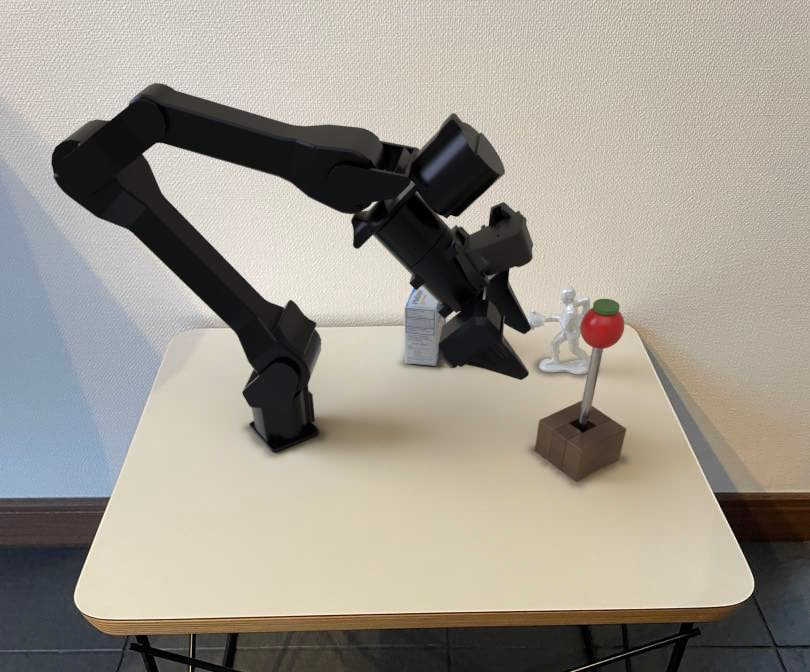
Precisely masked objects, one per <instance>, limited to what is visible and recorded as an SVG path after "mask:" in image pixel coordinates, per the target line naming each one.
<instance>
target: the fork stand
mask: <svg viewBox="0 0 810 672" xmlns="http://www.w3.org/2000/svg"><path fill="white" fill-rule="evenodd" d="M581 405H582V400H580V401H577V402H575V403H573V404H571V405H568V406H567V407H565V408H562V409H560V410H558V411H556V412H554V413H551V414H549V415H547V416H545V417H542V418H540V419H539V420H538V425H537V432H536V440H535V445H534V452H536V453H537V454H538V455H540V456H541V457H542V458H544V459H545V460H546V461H548V462H549V463H550V464H552V466H554V467H555V468H557V469H558V470H560V471H561V472H562V473H563V474H565V475H566V476H567V477H568V478H570V479H571V480H573V481H574V482H576V483H577V482H578V481H580V480H582V479H584V478H586V477H588V476H590V475H592V474H595V472H598V471H600V470H602V469H604V468H606V467H607V466H609V465H611V464H613V463H615V462H618V461H619V460H620V457H621V453H622V449H623V445H624V443H625V442H624V441H625V437H626V434H627V428H626V427H624V426H623V425H621V424H620V423H619V422H617V421H616V420H614V418H613V419H612V418H611V417H610V416H608V415H607V414H605V413H603V412H602V411H601V410H599V409H598V408H596V407H595V406H593V405H592V406H591V411H590V416H589V421H588V426H587V430H586V431H585V432H583V433H582V432H581V431H579V430H578V429H577V426H578V420H579V415H580V410H581Z"/></svg>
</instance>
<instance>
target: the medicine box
mask: <svg viewBox="0 0 810 672" xmlns="http://www.w3.org/2000/svg"><path fill="white" fill-rule="evenodd" d="M439 305H440V303H439V302H438V301H437V300H436V299H435V298H434V297H433V296H432V295H431V294H430V293H429V292H428V291H427V290H426V289H425V288H424V287H423V286H421V287H420V288H419V289H417V290H415V289H414V288H413V287H412V290H411V292H410V294H409V296H408V299H407V301H406V303H405V306H404V307H403V308H404V311H403V315H404V316H403V317H404V318H403V323H404V325H403V326H404V360H405V361H404V362H405V363H406V364H410V365H419V366H429V367H430V366H431V367H436V366H437V365H438V362H439V359H440V357H439V356H438V344H439V339H440V335H441V330H442V326H443V325H444V324H446V323H447V317H446V318H445V319H444V318H443V317H442V316H441V315H440V314H439V313H438V309H439Z"/></svg>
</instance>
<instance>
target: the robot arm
mask: <svg viewBox="0 0 810 672" xmlns="http://www.w3.org/2000/svg"><path fill="white" fill-rule="evenodd" d="M156 144H163V145H166V146H171V147H174V148H178V149H181V150H184V151H188V152H192V153H194V154H195V153H196V154H199V155H201V156H205V157H209V158H212V159H216V160H219V161H222V162H226V163H230V164H231V165H237V166H239V167H243V168H246V169H250V170H254V171H256V172H259V173H260V172H261V173H264V174H268V175H270V176H275V177H277V178H280V179H282V180H283V181H287V182H288V183H290V184H292V185H293V186H294V187H295V188H296V189H298V190H299V191H300V192H301V193H303V194H304V195H305V196H306V197H307V198H309V199H311V200H313V201H316V202H317V203H320V204H322V205H324V206H326V207H328V208H330V209H332V210H334V211H337V212H338V213H341V214H345V215H352V217H351V219H350V223H351V225H352V232H353V233H352V234H353V238H352V246H353V248H354V249H355V250H359V249H360V248H361V247H363V246H364V244H366V243H367V242H368V241H369V240H370V238H372V236H373V237H374V239H376V240H377V242H379V244H381V246H383V248H384V249H386V251H387V252H388V253H390V255H391V256H392V257H393V258H394V259H395V260H396V261H397V262H398V263H399V264H400V265H401V266H402V267H403V268H404V269H405V270H406V271H407V272H408V273H409V274H410V275H411V276H410V279H409V283H408V284H409V285H410V286H411V287H412V289H413V288H414V289H415V290H417V289H419V288H420V287H421V286H423V287H424V288H425V289H426V290H427V291H428V292H429V293H430V294H431V295H432V296H433V297H434V298H435V299H436V300H437V301H438V302H439V303H440V305H439V309H438V313H439V314H440V315H441V316H442V317H443V318H444V319H445V318H446V319H447V318H448V317H449V316H450V315H452V314H453V313H455V315H454V316H453V317H451V318H450V319H449V320H448V321H446V324H444V325H443V326H442V330H441V335H440V339H439V344H438V356H439V359H441V360H442V361H443V362H444V363H445V365H447V366H448V367H449V368H450V369H456V368H457V367H459V368H462V367H465V366H470V367H474V368H479V369H483V370H487V371H490V372H493V373H497V374H499V375H503V376H507V377H509V378H513V379H516V380H519V381H522V380H524V379H526V378H527V377H528V376H530V372H529V370H528V368H527V367H526V365H525V363H524V362H523V361H522V359H521V358H520V356H519V355H518V354H517V352H516V351H515V350H514V348H513V346H512V345H511V344H510V343H509V341H508V340H507V338H506V337H505V335H504V328H505V325H506V326H507V327H509V328H510V329H513V330H515V331H516V332H518V333H520V334H522V335H526V334H527V333H529V332H530V331H532V330H531V325H530V323H529V321H528V319H529V318H528V317H527V315H526V313H525V312H524V310H523V308H522V306H521V304H520V302H519V300H518V297H517V295H516V294H515V292H514V289H513V287H512V285H511V283H510V269H513V268H522V267H523V266H525V265H527V264H529V263H530V262H532V260H533V258H534V257H533V256H534V255H533V248H534V242H533V239H532V236H531V234H530V231H529V228H528V226H527V222H528V220H527V218H526V216H524V214H522V213H521V210H516V211H515V210H514V209H513V208H511V207H510V206H509V205H508V204H507V203H506V202H504V201H503V202H500V203H498V204H495V205H492V206H491V207H490V211H489V217H488V225H486V224H483V225H481V226H480V229H479V230H477V231H474V232H472V233H469V232H468V231H467V230H466V229H465V228H464V227H463V226H458V225H457V224H455V225H454V226H453V227H452V228H451V227H450V226H449V225H448V224H447V223H446V222H445V221H444V220H443V219H442V217H443V218H445V219H448V218H449V217H450V216H451V217H455V218H458V217H460V216H461V215H462V214H463V213H464V212H465V211H466V210H467V209H468V208H470V207H471V206H472V205H473V204H474V203H475V202H476V201H477V200H478V199H479V198H480V197H482V195H483V194H485V193H486V192H487V191H488V190H489V189H490V188H491V187H492V186H493V185H494V184H495V183H497V182H498V181H499V180H500V179H501V178H502V177H503V176H504V175H505V174H506V170H505V166H504V163H503V161H502V159H501V156H499V153H498V152H497V150H496V149H495V147H494V146H493V144H492V143H491V142H490V141H489V139H488V138H487V137H486V136H485V134H484V133H483V132H478V130H477V129H476V128H474V126H472V125H471V124H469V123H468V122H464V121H463V120H462V119H461V118H460V117H459V116H458V114H456V113H454V112H451V114H449V116H448V117H446V119H445V120H444V121H443V122H442V123H441V125H440V126H439V129H438V130H437V131H436V133H435V134H433V136H432V137H431V138H430V139H429V140H428V141H427V142H426V143H424V145H423V146H422V147H421V148H419V147H416V146H410V145H406V144H400V143H395V142H389V141H384V140H381V139H380V137H379V136H377V134H375V133H374V132H373V131H371V130H369V129H367V128H363V127H358V126H349V125H340V124H339V125H338V124H330V123H329V124H314V125H298V124H297V125H296V124H290V123H287V122H283V121H281V120H277V119H273V118H270V117H267V116H263V115H260V114H256V113H253V112H250V111H246V110H243V109H239V108H236V107H233V106H230V105H226V104H223V103H220V102H216V101H213V100H209V99H205V98H202V97H199V96H195V95H193V94H189V93H186V92H183V91H179V90H176V89H174V88H173V87H172V86H169V85H168V84H166V83H159V82H154V83H151V84H148V85H147V86H146V87H144V88H143V89H142V90H141V91H140V92H138V93H137V94H135V96H134V97H132V98H131V99H130V101H129V103H128V105H127V106H126V107H125V108H124V109H122V110H121V111H120V112H119V113H117V114H116V115H115V116H114V117H113V118H111V119H109V120H105V119H97V118H96V119H92V120H89V121H87V122H86V123H85V124H83V125H82V126H80V127H79V128H78V129H76V130H75V131H74V132H72V133H71V134H70V135H68V137H66V138H65V139H63V140H62V141H61V142H60V143H58V144H57V145H55V146H54V149H53V151H52V154H51V162H50V163H51V169H52V172H53V175H52V176H53V179H54V181H55V183H56V185H57V186H58V187H59V188H60V190H61V191H62V192H63V193H64V194H65V195H66V196H67V197H68V198H70V199H71V200H73V201H74V202H75V203H77V204H78V205H79V206H80V207H81V208H84V209H85V210H86V211H87V212H88V213H90V214H91V215H93V216H94V217H96V218H97V219H100V220H102V221H105V222H108V223H110V224H112V225H115V226H118V227H121V228H123V229H126V230H128V231H129V232H130V233H131V234H132V235H134V236H135V238H137V239H138V240H139V241H140V242H141V243H142V244H143V245H144V246H145V247H146V248H147V249H148V250H149V251H150V252H151V253H152V254H153V255H155V257H156V258H158V259H159V260H160V261H161V263H163V264H164V265H165V267H167V268H168V269H169V271H171V272H172V273H173V274H174V275H175V276H176V277H177V278H178V279H179V280H180V281H181V282H182V283H183V284H184V285H185V286H186V287H187V288H188V289H190V291H192V292H193V294H195V296H196V297H198V298H199V299H200V300H201V301H202V302H203V303H204V304H205V305H206V306H207V307H208V308H209V309H210V310H211V311H212V312H213V313H214V314H215V315H216V316H217V317H218V318H219V319H220V320H221V321H222V322H224V324H226V325H227V326H228V328H230V329H231V330H232V331H233V332H234V334H235V335H236V337H237V338H238V341H239V343H240V345H241V348H242V349H243V353H244V355H245V357H246V360H247V362H248V363H249V365H250V366H251V368H252V369H253V370H252V371H251V373H250V375H249V378H248V380H247V381H246V383H245V385H244V388H243V390H242V392H241V394H242V396H243V398H244V399H245V401H246V403H247V405H248V407H250V408H251V411H252V417H253V421H250V422H249V428H250V430H251V431H252V432H253V433H254V434H255V435H256V436H257V437H258V438H259V440H261V442H262V443H263V444H264V445H265V446H266V447H267V448H268V449H269V450H270V451H271V452H272V453H277V452H280V451H282V450H284V449H288V448H290V447H292V446H295V445H297V444H299V443H302V442H304V441H306V440H309V439H311V438H314V437H317V436H318V435H319V434H320V429H319V428H318V427H317V426H316V425H315V421H316V413H315V406H314V405H315V404H314V396H313V395H314V394H313V393H312V392H311V391H310V390H309V383H310V380H311V378H312V375H313V372H314V370H315V367H316V364H317V363H318V362H317V361H318V360H319V358H320V355H321V352H322V338H321V335H320V334H319V332H318V330H317V329H316V327H317V325H318V324H317V322H315V321H314V320H312V319H310V318H309V317H308V316H306V314H304V313H303V311H302V310H301V309H300V307H299V305H298V304H297V303H296V302H295V301H293V300H292V299H289V300H288V301H287V303H285V304H284V306H281V305H280V304H276V303H275V302H274V303H273V302H271V301H269V300H267V299H265V298H264V297H263V296H262V295H261V293H260V292H258V291H257V290H256V289H255V288H254V287H253V286H252V284H251V283H249V282H248V280H247V279H246V278H245V277H244V276H243V275H241V273H240V272H239V271H238V270H237V269H236V268H235V267H234V266H233V265H232V264H231V263H230V262H229V261H228V260H227V259H226V258H225V257H224V256H223V255H222V254H221V253H220V252H219V251H218V250H217V249H216V248H215V247H214V246H213V245H212V244H211V242H209V240H208V239H207V238H205V237H204V235H202V233H201V232H199V230H198V229H196V227H195V226H194V225H193V224H192V223H191V222H190V221H189V220H188V219H187V218H186V217H185V216H184V215H183V214H182V213H181V212H180V211H179V210H178V209H177V208H176V207H175V206H174V205H173V204H172V203H171V202H170V201H169V200H168V199H167V197H166V196H165V195H164V193H162V190H161V188H160V186H159V184H158V182H157V181H158V180H157V178H156V176H155V175H154V171H153V169H152V167H151V164H150V162H149V161H148V160H147V158H146V157H145V156H144V154H145V152H148V150H149V149H151V148H153V146H154V145H156ZM372 204H373V205H372ZM367 208H369V209H367ZM366 209H367V210H366Z"/></svg>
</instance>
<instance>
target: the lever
mask: <svg viewBox="0 0 810 672" xmlns="http://www.w3.org/2000/svg"><path fill="white" fill-rule="evenodd" d="M620 307H621V306H620V304H619V302H618V301H616V300H615V299H611V298H598V299H596V300H595V301H594V302H593V305H592V307H590V309H589V310H588V311H587V312H586V313H585V315H584V316H583V318H582V321H581V325H580V331H581V334H580V336H581V337H582V339H583V341H584V342H585V344H587V346H589V347H591V353H590V356H591V359H590V364H589V369H588V372H587V373H586V374H587V375H586V380H585V384H584V388H583V389H584V390H583V394H582V400H581V401H582V405H581V410H580V415H579V420H578V426H577V429H578V430H579V431H581V432H582V433H583V432H585V431H586V430H587V426H588V421H589V416H590V411H591V406H593V400H594V395H595V392H596V391H595V390H596V386H597V382H598V377H599V373H600V366H601V362H602V356H603V352H604V349H609V348H611V347H613V346H614V345H616V344H617V343H618V342H619V341H620V340H621V338H622V337H623V334H624V331H625V318H624V316H623V314H622V313H621V311H620Z"/></svg>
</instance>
